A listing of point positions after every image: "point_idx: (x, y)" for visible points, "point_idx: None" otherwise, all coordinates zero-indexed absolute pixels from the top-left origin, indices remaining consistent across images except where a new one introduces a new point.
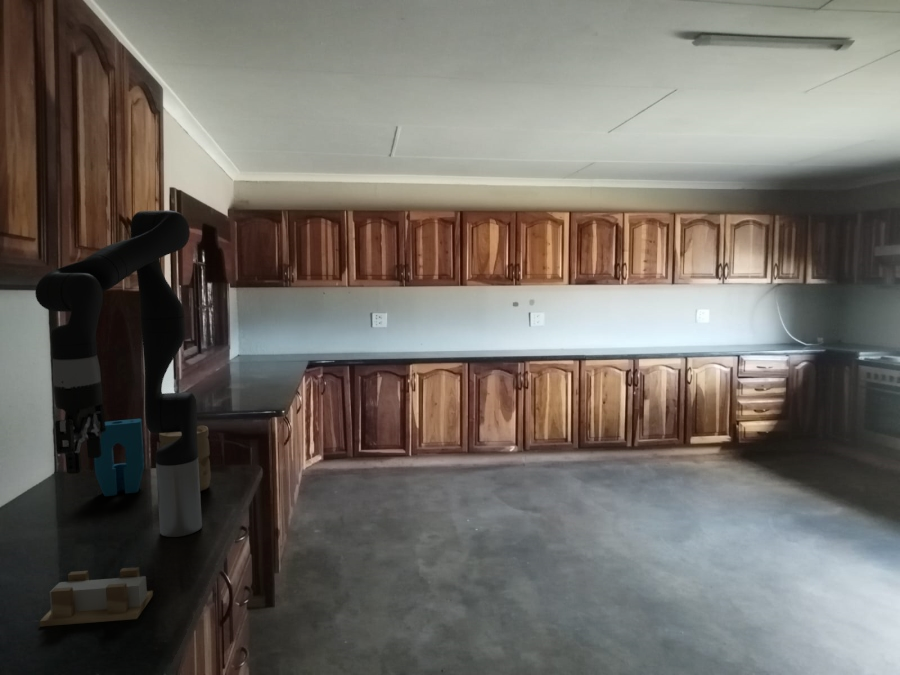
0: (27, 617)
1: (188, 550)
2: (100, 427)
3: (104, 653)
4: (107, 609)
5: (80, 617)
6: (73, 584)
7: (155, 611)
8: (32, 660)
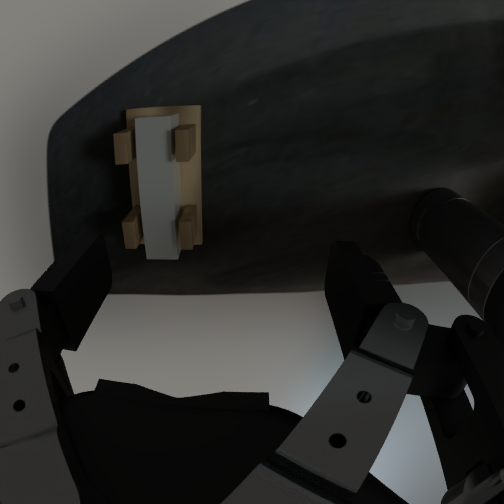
0: (159, 72)
1: None
2: (432, 401)
3: (71, 229)
4: (133, 208)
5: (130, 167)
6: (159, 147)
7: None
8: (57, 149)
